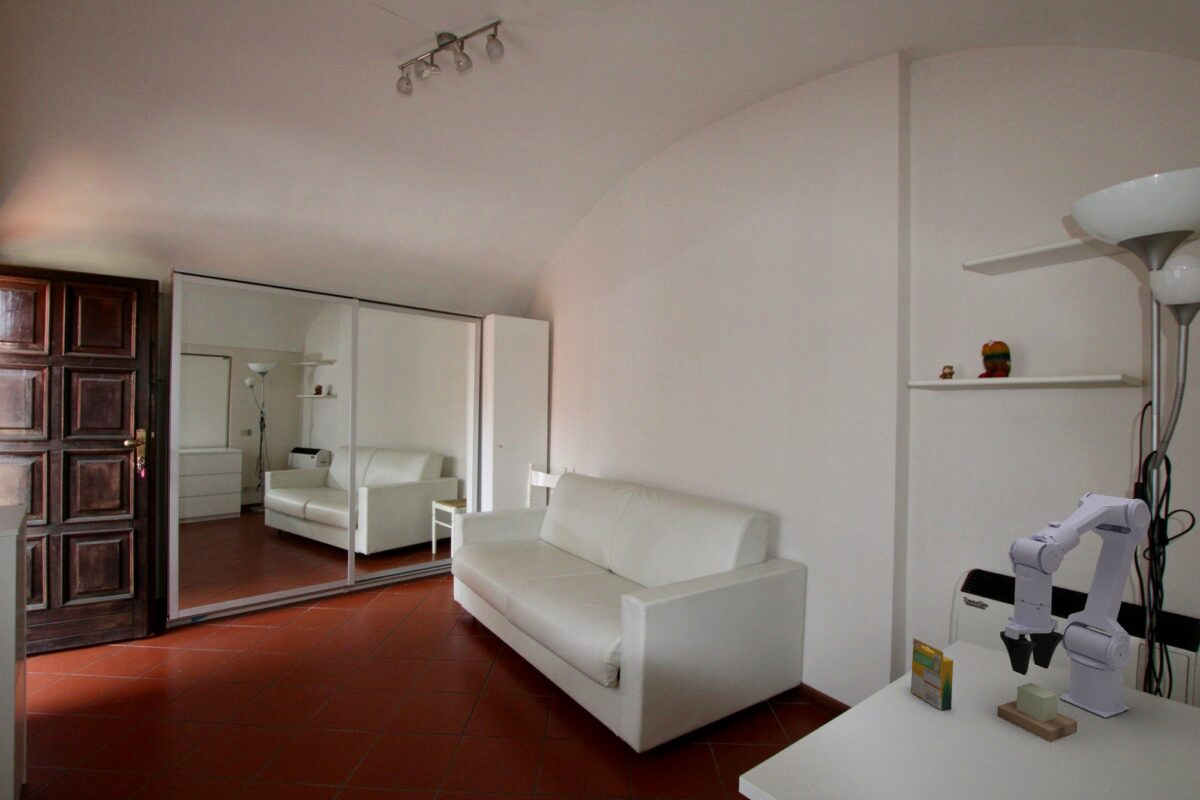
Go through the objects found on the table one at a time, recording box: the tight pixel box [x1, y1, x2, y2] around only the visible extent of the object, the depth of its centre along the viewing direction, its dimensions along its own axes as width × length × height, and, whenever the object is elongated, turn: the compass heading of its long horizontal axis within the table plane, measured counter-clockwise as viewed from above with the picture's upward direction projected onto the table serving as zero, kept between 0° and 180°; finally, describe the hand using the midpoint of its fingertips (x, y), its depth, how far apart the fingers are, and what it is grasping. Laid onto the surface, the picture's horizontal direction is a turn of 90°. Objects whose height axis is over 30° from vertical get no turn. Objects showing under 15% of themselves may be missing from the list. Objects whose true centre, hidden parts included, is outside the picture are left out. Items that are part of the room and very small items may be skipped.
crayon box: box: [910, 637, 954, 711], centre depth 113 cm, size 7×3×12 cm, turn 17°
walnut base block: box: [996, 699, 1078, 743], centre depth 106 cm, size 9×9×2 cm
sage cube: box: [1016, 682, 1058, 722], centre depth 106 cm, size 4×4×4 cm
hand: (1030, 669), depth 108 cm, fingers open, 7 cm apart
